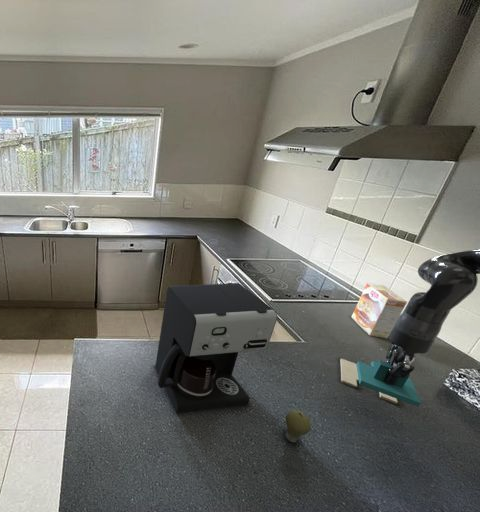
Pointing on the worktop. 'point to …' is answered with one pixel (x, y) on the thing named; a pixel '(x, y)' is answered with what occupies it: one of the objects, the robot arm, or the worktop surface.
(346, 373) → the beige tile
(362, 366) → the teal tile
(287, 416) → the light bulb
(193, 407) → the coffee maker
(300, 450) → the worktop surface
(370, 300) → the coffeecake box
